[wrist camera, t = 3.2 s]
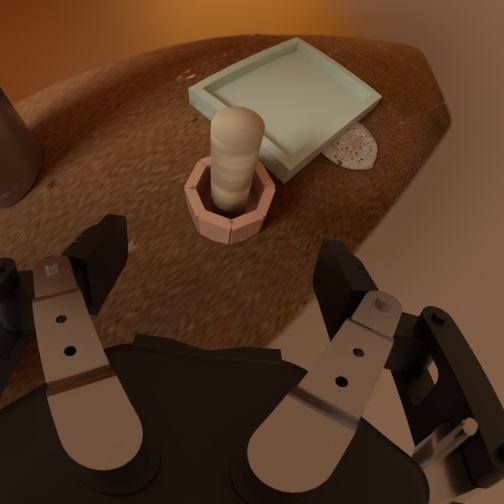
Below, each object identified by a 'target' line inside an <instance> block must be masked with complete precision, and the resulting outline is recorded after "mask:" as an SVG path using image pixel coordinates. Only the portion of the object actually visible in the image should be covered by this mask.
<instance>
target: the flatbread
mask: <svg viewBox="0 0 504 504" xmlns="http://www.w3.org/2000/svg"><path fill="white" fill-rule="evenodd" d="M377 151H378V147H377V143H376V141H375V140H374V138H373V136H372V135H371V133H370V132H369V131H368V130H367V129H366V128H365V127H364V126H363V125H362V124H360V123H359V122H355V123H354V124H353V125H352V126H350V127H349V128H348V129H347V130H346V131H344V132H343V133H342V134H341V135H340V136H338V137H337V138H336V139H335V140H333V141H332V142H331V143H330V144H329V145H327V146H326V147H325V148H324V149H323V150H322V151H321V153H322V154H323V155H324V156H326V157H327V158H328V159H330V160H331V161H332V162H334V163H336V164H338V165H340V166H342V167H344V168H348V169H352V170H367V169H371V168H372V167H373V166H374V162H375V159H376V156H377Z"/></svg>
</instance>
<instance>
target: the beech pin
mask: <svg viewBox="0 0 504 504" xmlns="http://www.w3.org/2000/svg"><path fill="white" fill-rule="evenodd" d="M264 131H265V124H264V121H263V119H262V118H261V116H260V115H259V114H257V113H256V112H255V111H253V110H251V109H249V108H245V107H239V106H234V107H228V108H225V109H222V110H221V111H219V112H218V113H217V114H216V115H215V116H214V117H213V119H212V122H211V210H212V212H213V213H214V214H217V215H220V216H222V217H225V218H228V219H231V220H232V219H234V218H237V217H239V216H242V215H243V214H244V211H245V208H246V204H247V200H248V195H249V191H250V187H251V183H252V179H253V175H254V171H255V167H256V163H257V159H258V155H259V151H260V147H261V143H262V139H263V135H264Z"/></svg>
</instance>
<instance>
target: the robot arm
mask: <svg viewBox="0 0 504 504" xmlns="http://www.w3.org/2000/svg"><path fill="white" fill-rule="evenodd" d="M42 160H43V151H42V148H41V145H40V144H39V143H38V141H37V140H36V138H35V137H34V136H33V134H32V133H31V131H30V130H29V129H28V127H27V126H26V124H25V123H24V121H23V120H22V118H21V117H20V115H19V114H18V113H17V111H16V110H15V108H14V107H13V105H12V104H11V102H10V101H9V99H8V97H7V96H6V94H5V93H4V91H3V90H2V88H1V87H0V209H2V208H6V207H9V206H11V205H13V204H14V203H16V202H17V201H19V200H20V199H21V198H22V197H23V196H24V195H25V194H26V193H27V192H28V190H29V189H30V188H31V186H32V185H33V183H34V182H35V180H36V178H37V176H38V174H39V172H40V168H41V165H42ZM127 258H128V240H127V221H126V217H125V216H123V215H112V214H107V215H106V216H105V217H104V218H103V219H102V220H101V221H100V222H99V223H98V224H97V225H93V226H91V227H89V228H87V229H85V230H84V231H83V232H82V233H81V234H80V235H79V237H77V238H76V239H75V240H74V242H72V244H71V245H70V246H69V247H68V248H67V249H66V250H65V251H64V252H63V253H62V254H61V255H50V256H47V257H44V258H42V259H40V260H39V261H37V262H36V263H35V265H34V266H33V270H29V271H17V269H16V265H15V261H14V260H13V259H11V258H0V320H1V321H0V397H1V394H2V392H3V390H4V388H5V386H6V383H7V381H8V379H9V377H10V375H11V373H12V371H13V369H14V367H15V365H16V363H17V361H18V359H19V357H20V355H21V353H22V351H23V350H24V348H25V346H26V344H27V342H28V340H29V339H30V337H31V335H32V333H33V331H34V330H36V335H37V341H38V347H39V352H40V357H41V362H42V367H43V371H44V375H45V380H46V383H45V384H43V385H41V386H40V387H38V388H36V389H34V390H33V391H31V392H29V393H28V394H26V395H24V396H23V397H21V398H19V399H17V400H16V401H14V402H12V403H11V404H9V405H7V406H6V407H4V408H2V409H0V504H463V503H465V502H466V501H468V500H470V499H472V498H473V497H475V496H477V495H479V494H480V493H482V492H484V491H485V490H487V489H489V488H490V487H492V486H493V485H495V484H496V483H498V482H499V481H501V480H502V479H504V409H503V407H502V405H501V403H500V401H499V399H498V397H497V395H496V393H495V391H494V389H493V387H492V385H491V383H490V381H489V380H488V378H487V376H486V374H485V372H484V371H483V369H482V367H481V365H480V363H479V362H478V360H477V358H476V356H475V355H474V353H473V351H472V349H471V348H470V346H469V344H468V343H467V341H466V340H465V338H464V336H463V335H462V333H461V331H460V330H459V328H458V327H457V325H456V324H455V322H454V321H453V319H452V318H451V317H450V315H449V314H448V313H446V312H445V311H443V310H442V309H439V308H437V307H433V306H427V307H425V308H424V309H423V311H422V312H421V314H420V316H415V315H411V314H408V313H404V312H402V306H401V304H400V302H399V301H398V300H397V299H396V298H394V297H393V296H391V295H390V294H387V293H385V292H382V291H379V290H378V288H377V286H376V285H375V283H374V282H373V280H372V278H371V276H369V273H368V272H367V270H365V267H364V265H363V264H362V262H361V261H360V260H359V259H358V258H357V257H355V256H354V255H353V254H350V253H349V251H348V250H347V248H346V246H345V245H344V243H343V242H342V241H336V240H328V239H324V240H323V242H322V245H321V248H320V252H319V255H318V259H317V262H316V266H315V269H314V273H313V288H314V291H315V294H316V297H317V300H318V303H319V306H320V309H321V313H322V316H323V319H324V322H325V325H326V329H327V332H328V335H329V338H330V344H329V345H328V346H327V348H326V349H325V350H324V352H323V353H322V355H321V356H320V357H319V359H318V360H317V361H316V363H315V364H314V365H313V367H312V368H311V369H310V371H307V370H305V369H303V368H302V367H300V366H298V365H295V364H293V363H290V362H287V361H284V360H282V357H281V350H280V349H266V348H252V347H239V348H230V349H219V350H204V349H200V348H197V347H194V346H191V345H188V344H185V343H182V342H179V341H176V340H173V339H170V338H163V337H157V336H150V335H144V334H138V333H136V335H135V338H134V341H133V343H128V344H120V345H116V346H112V347H109V348H106V349H103V348H102V346H101V343H100V341H99V339H98V336H97V334H96V331H95V329H94V326H93V323H92V321H91V318H90V316H89V315H94V316H97V314H98V312H99V310H100V308H101V307H102V305H103V303H104V301H105V299H106V298H107V296H108V294H109V292H110V291H111V289H112V287H113V285H114V284H115V282H116V280H117V279H118V277H119V275H120V273H121V272H122V270H123V268H124V267H125V265H126V262H127ZM433 360H434V362H435V365H436V367H437V369H438V380H437V383H436V384H435V385H434V382H433V380H432V378H431V375H430V373H429V371H428V369H427V368H428V367H429V365H430V364H431V363H432V361H433ZM383 368H385V369H389V370H391V373H392V376H393V379H394V382H395V384H396V387H397V390H398V393H399V396H400V399H401V402H402V405H403V408H404V412H405V415H406V418H407V421H408V425H409V428H410V431H411V435H412V438H413V442H414V445H415V449H414V451H413V454H412V457H410V456H409V455H408V454H406V453H405V452H404V451H403V450H402V449H400V448H399V447H398V446H397V445H395V444H394V443H393V442H392V441H390V440H389V439H388V438H387V437H386V436H384V435H383V434H382V433H381V432H379V431H378V430H377V429H376V428H375V427H374V426H372V425H371V424H370V423H369V422H367V421H366V420H365V419H364V418H362V416H361V415H362V414H363V412H364V409H365V407H366V405H367V403H368V401H369V399H370V397H371V395H372V392H373V391H374V388H375V386H376V384H377V382H378V379H379V377H380V374H381V372H382V370H383Z"/></svg>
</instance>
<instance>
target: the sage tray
mask: <svg viewBox="0 0 504 504" xmlns="http://www.w3.org/2000/svg"><path fill="white" fill-rule="evenodd" d="M381 97H382V96H381V95H380V94H378V93H377V92H376V91H375V90H373V89H372V88H371V87H370V86H368V85H367V84H366V83H364V82H363V81H362V80H360V79H359V78H358V77H356V76H355V75H354V74H352V73H351V72H350V71H348V70H347V69H346V68H344V67H343V66H341V65H340V64H338V63H337V62H336V61H334V60H333V59H331V58H330V57H328V56H327V55H325V54H324V53H322V52H320V51H319V50H317V49H316V48H314V47H313V46H311V45H309V44H308V43H306V42H304V41H303V40H301V39H299V38H298V37H296V38H293V39H290V40H288V41H285V42H283V43H280V44H278V45H275V46H273V47H270V48H268V49H266V50H263V51H261V52H259V53H256V54H254V55H252V56H250V57H248V58H245V59H243V60H241V61H239V62H237V63H235V64H233V65H231V66H229V67H227V68H225V69H223V70H221V71H219V72H217V73H215V74H213V75H211V76H209V77H208V78H206V79H204V80H202V81H200V82H198V83H197V84H195V85H193V86H191V87H190V88H189V103H190V104H191V105H192V106H193V107H194V108H196V109H197V110H198V111H199V112H201V113H202V114H203V115H204V116H206V117H207V118H208V119H209V120H211V121H212V119H213V117H214V116H215V115H216V114H217V113H218V112H219V111H221V110H222V109H225V108H228V107H234V106H239V107H245V108H249V109H251V110H253V111H255V112H256V113H257V114H259V115H260V116H261V118H262V119H263V121H264V124H265V131H264V135H263V139H262V143H261V147H260V151H259V155H258V160H259V162H262V163H263V165H264V166H265V167H266V168H267V169H268V170H269V171H271V172H272V173H273V174H274V175H275V176H276V177H277V178H278V179H280V180H281V181H282V182H283V183H284V184H285V183H286V182H287V181H288V180H289V179H291V178H292V177H293V176H294V175H295V174H296V173H298V172H299V171H300V170H301V169H302V168H303V167H305V166H306V165H307V164H308V163H309V162H310V161H312V160H313V159H314V158H315V157H316V156H317V155H319V154H320V153H321V151H322V150H323V149H324V148H325V147H326V146H327V145H329V144H330V143H331V142H332V141H333V140H335V139H336V138H337V137H338V136H340V135H341V134H342V133H343V132H344V131H346V130H347V129H348V128H349V127H350V126H352V125H353V124H354V123H355V122H358V121H360V120H361V119H362V118H363V117H364V116H366V115H367V114H368V113H369V112H371V111H372V110H373V109H374V108H375V106H376V105H377V103H378V102H379V100H380V99H381Z"/></svg>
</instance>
